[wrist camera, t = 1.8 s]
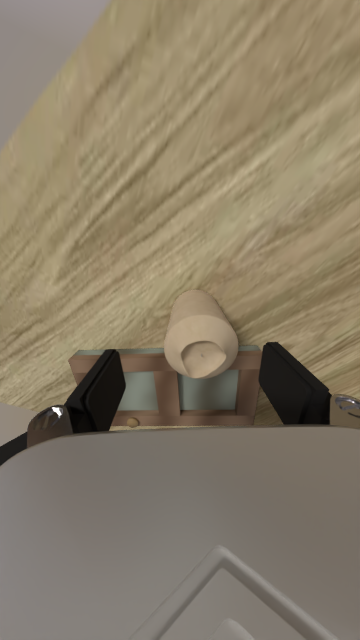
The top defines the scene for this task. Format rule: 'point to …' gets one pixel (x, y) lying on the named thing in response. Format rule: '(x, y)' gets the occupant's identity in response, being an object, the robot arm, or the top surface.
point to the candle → (199, 337)
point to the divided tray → (180, 389)
